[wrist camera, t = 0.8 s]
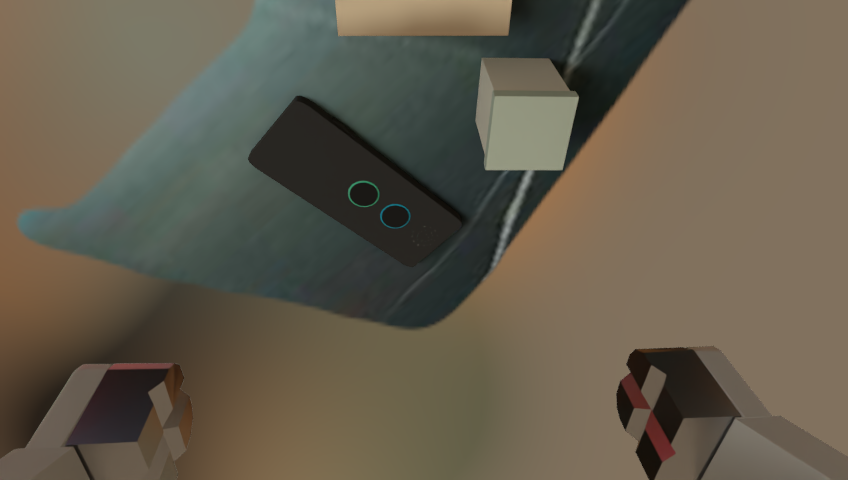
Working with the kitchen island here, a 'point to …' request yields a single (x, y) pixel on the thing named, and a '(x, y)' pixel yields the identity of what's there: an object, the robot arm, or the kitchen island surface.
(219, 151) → the kitchen island surface
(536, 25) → the kitchen island surface
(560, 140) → the cream tea tin
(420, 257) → the smart home device
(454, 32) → the oak block
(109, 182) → the kitchen island surface
